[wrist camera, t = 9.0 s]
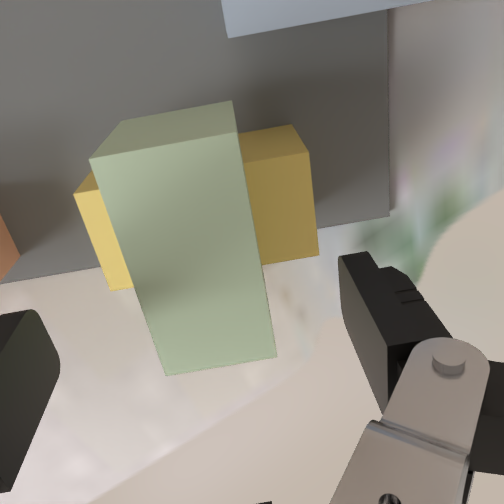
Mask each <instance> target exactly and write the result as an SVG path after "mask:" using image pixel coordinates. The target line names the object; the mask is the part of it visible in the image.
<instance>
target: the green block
mask: <svg viewBox="0 0 504 504" xmlns="http://www.w3.org/2000/svg"><path fill="white" fill-rule="evenodd" d="M89 162H90V165H91V168H92V171H93V173H94V176H95V179H96V182H97V185H98V187H99V190H100V193H101V196H102V199H103V201H104V204H105V207H106V210H107V213H108V215H109V218H110V221H111V224H112V227H113V229H114V232H115V235H116V238H117V241H118V243H119V246H120V249H121V252H122V255H123V257H124V260H125V263H126V266H127V269H128V271H129V274H130V277H131V280H132V283H133V285H134V288H135V291H136V294H137V297H138V299H139V302H140V305H141V308H142V311H143V313H144V316H145V319H146V322H147V325H148V328H149V330H150V333H151V336H152V339H153V342H154V344H155V347H156V350H157V353H158V356H159V358H160V361H161V364H162V367H163V370H164V372H165V375H166V376H170V375H176V374H182V373H188V372H194V371H200V370H206V369H211V368H217V367H223V366H229V365H235V364H241V363H246V362H252V361H258V360H264V359H270V358H276V357H277V352H276V346H275V340H274V334H273V328H272V322H271V316H270V310H269V304H268V298H267V292H266V286H265V280H264V275H263V269H262V264H261V258H260V253H259V247H258V242H257V236H256V231H255V225H254V220H253V214H252V208H251V203H250V197H249V192H248V186H247V181H246V175H245V170H244V164H243V159H242V153H241V148H240V142H239V137H238V131H237V125H236V120H235V114H234V109H233V103H232V100H231V101H225V102H220V103H214V104H209V105H204V106H198V107H193V108H187V109H182V110H177V111H171V112H166V113H160V114H155V115H150V116H144V117H139V118H133V119H128V120H123V121H121V122H120V123H119V124H118V125H117V126H116V128H115V129H114V130H113V131H112V132H111V133H110V135H109V136H108V137H107V138H106V139H105V140H104V142H103V143H102V144H101V145H100V146H99V147H98V149H97V150H96V151H95V152H94V153H93V154H92V156H91V157H90V158H89Z"/></svg>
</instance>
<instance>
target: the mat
mask: <svg viewBox="0 0 504 504" xmlns="http://www.w3.org/2000/svg"><path fill="white" fill-rule="evenodd" d="M231 100H232V103H233V109H234V114H235V120H236V125H237V131H238V134H239V133H245V132H250V131H256V130H262V129H267V128H273V127H278V126H284V125H289V124H292V125H293V127H294V129H295V130H296V132H297V134H298V135H299V137H300V138H301V140H302V142H303V143H304V145H305V146H306V148H307V150H308V151H309V158H310V168H311V178H312V188H313V198H314V208H315V217H316V227H317V229H319V228H325V227H331V226H337V225H342V224H348V223H354V222H359V221H365V220H371V219H377V218H382V217H388V216H390V213H389V119H388V24H387V9H385V10H379V11H374V12H368V13H363V14H358V15H352V16H347V17H341V18H336V19H331V20H325V21H320V22H314V23H309V24H303V25H298V26H293V27H287V28H282V29H276V30H271V31H266V32H260V33H255V34H249V35H244V36H239V37H233V38H228V36H227V32H226V27H225V21H224V15H223V10H222V4H221V0H0V215H1V217H2V219H3V221H4V223H5V225H6V227H7V229H8V231H9V233H10V235H11V237H12V239H13V241H14V244H15V246H16V248H17V250H18V252H19V254H20V257H19V259H18V260H17V261H16V262H15V264H14V265H13V266H12V268H11V269H10V270H9V271H8V273H7V274H6V275H5V276H4V278H3V279H2V280H1V281H0V284H5V283H10V282H16V281H22V280H27V279H33V278H39V277H45V276H50V275H56V274H62V273H68V272H73V271H79V270H85V269H90V268H96V267H101V265H100V262H99V260H98V257H97V255H96V252H95V249H94V247H93V244H92V242H91V239H90V236H89V234H88V231H87V229H86V226H85V224H84V221H83V218H82V216H81V213H80V211H79V208H78V205H77V203H76V200H75V198H74V195H73V194H74V192H75V191H76V190H77V188H78V187H79V186H80V185H81V183H82V182H83V181H84V179H85V178H86V177H87V176H88V174H89V173H90V172H91V171H92V168H91V165H90V162H89V158H90V157H91V156H92V154H93V153H94V152H95V151H96V150H97V149H98V147H99V146H100V145H101V144H102V143H103V142H104V140H105V139H106V138H107V137H108V136H109V135H110V133H111V132H112V131H113V130H114V129H115V128H116V126H117V125H118V124H119V123H120V122H121V121H123V120H128V119H133V118H139V117H144V116H150V115H155V114H160V113H166V112H171V111H177V110H182V109H187V108H193V107H198V106H204V105H209V104H214V103H220V102H225V101H231Z"/></svg>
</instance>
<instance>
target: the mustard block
mask: <svg viewBox="0 0 504 504" xmlns="http://www.w3.org/2000/svg"><path fill="white" fill-rule="evenodd" d="M238 137H239V142H240V148H241V153H242V159H243V164H244V170H245V175H246V181H247V186H248V192H249V197H250V203H251V208H252V214H253V220H254V225H255V231H256V236H257V242H258V247H259V253H260V258H261V264H262V265H266V264H272V263H277V262H283V261H289V260H295V259H300V258H306V257H312V256H318V255H319V247H318V237H317V227H316V217H315V208H314V198H313V188H312V178H311V168H310V158H309V151H308V150H307V148H306V146H305V145H304V143H303V142H302V140H301V138H300V137H299V135H298V134H297V132H296V130H295V129H294V127H293V125H292V124H289V125H284V126H278V127H273V128H267V129H262V130H256V131H250V132H245V133H239V134H238ZM73 195H74V198H75V200H76V203H77V205H78V208H79V211H80V213H81V216H82V218H83V221H84V224H85V226H86V229H87V231H88V234H89V236H90V239H91V242H92V244H93V247H94V249H95V252H96V255H97V257H98V260H99V262H100V265H101V268H102V270H103V273H104V275H105V278H106V280H107V283H108V286H109V288H110V291H116V290H122V289H128V288H133V287H134V285H133V283H132V280H131V277H130V274H129V271H128V269H127V266H126V263H125V260H124V257H123V255H122V252H121V249H120V246H119V243H118V241H117V238H116V235H115V232H114V229H113V227H112V224H111V221H110V218H109V215H108V213H107V210H106V207H105V204H104V201H103V199H102V196H101V193H100V190H99V187H98V185H97V182H96V179H95V176H94V173H93V171H91V172H90V173H89V174H88V176H87V177H86V178H85V179H84V181H83V182H82V183H81V185H80V186H79V187H78V188H77V190H76V191H75V192H74V194H73Z"/></svg>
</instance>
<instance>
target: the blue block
mask: <svg viewBox="0 0 504 504" xmlns="http://www.w3.org/2000/svg"><path fill="white" fill-rule="evenodd" d="M428 1H433V0H221V4H222V10H223V15H224V21H225V27H226V32H227V36H228V38H233V37H239V36H244V35H249V34H255V33H260V32H266V31H271V30H276V29H282V28H287V27H293V26H298V25H303V24H309V23H314V22H320V21H325V20H331V19H336V18H341V17H347V16H352V15H358V14H363V13H368V12H374V11H379V10H385V9H390V8H395V7H401V6H406V5H412V4H417V3H422V2H428Z"/></svg>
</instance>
